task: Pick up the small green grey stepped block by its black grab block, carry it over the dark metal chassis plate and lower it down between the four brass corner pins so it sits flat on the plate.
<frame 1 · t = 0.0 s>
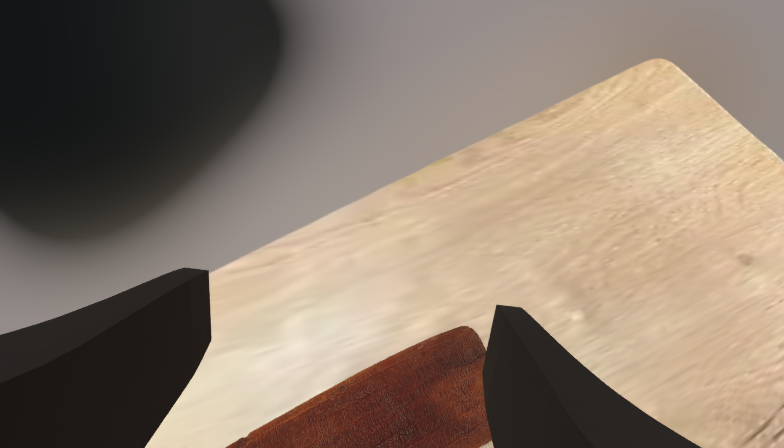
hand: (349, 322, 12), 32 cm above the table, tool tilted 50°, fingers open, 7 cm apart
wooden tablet: (362, 436, 41), on the table
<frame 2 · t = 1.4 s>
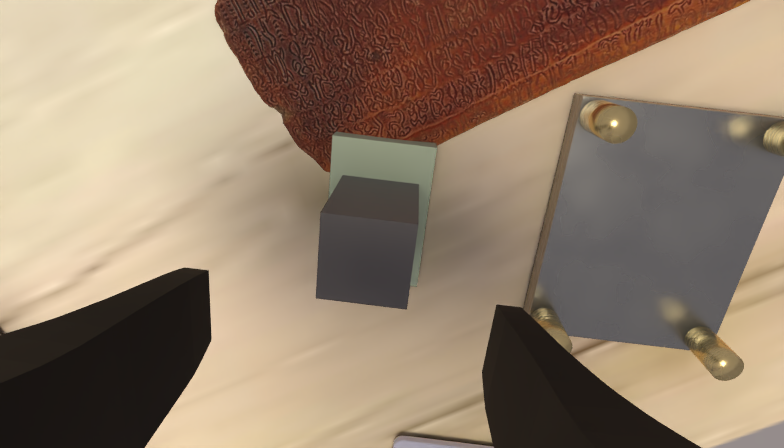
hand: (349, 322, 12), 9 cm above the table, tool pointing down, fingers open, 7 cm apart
chassis: (641, 227, 20), on the table
green grey stepped block: (379, 205, 20), on the table
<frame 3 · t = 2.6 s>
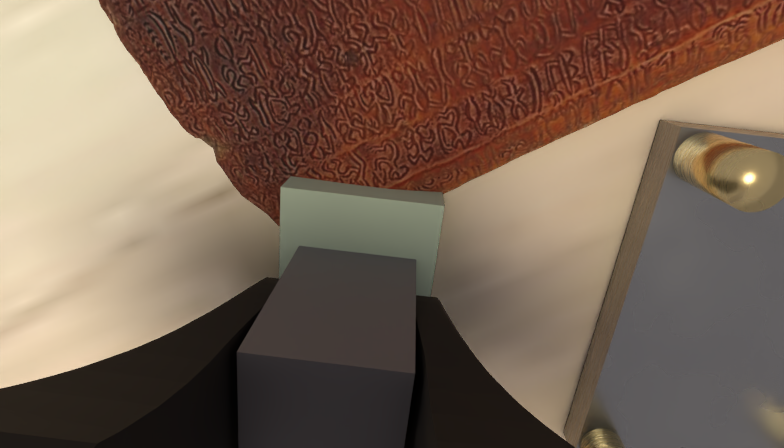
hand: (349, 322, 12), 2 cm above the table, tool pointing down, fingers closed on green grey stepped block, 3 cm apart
chassis: (746, 314, 13), on the table
green grey stepped block: (358, 282, 14), on the table, touching gripper
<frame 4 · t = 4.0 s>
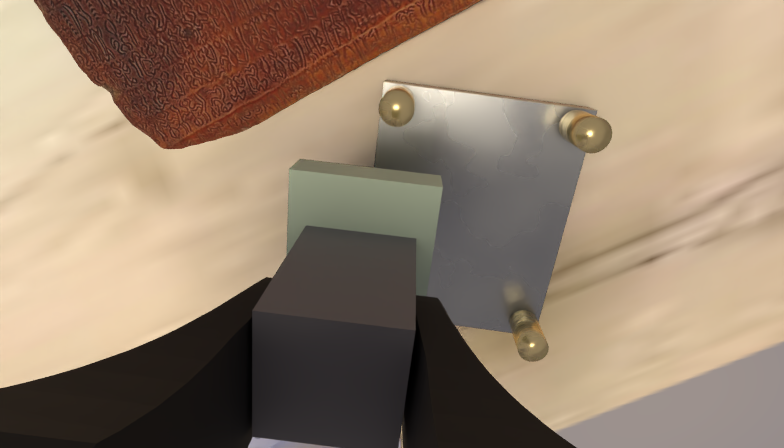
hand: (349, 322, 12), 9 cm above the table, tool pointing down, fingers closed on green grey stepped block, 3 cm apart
chassis: (463, 212, 20), on the table
green grey stepped block: (361, 262, 14), point 6 cm above the table, touching gripper
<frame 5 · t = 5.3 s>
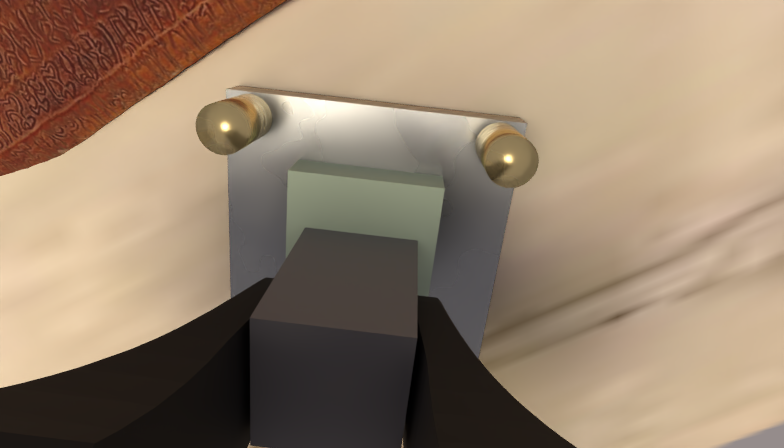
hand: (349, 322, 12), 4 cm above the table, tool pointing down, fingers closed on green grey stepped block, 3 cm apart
chassis: (364, 260, 15), on the table
green grey stepped block: (361, 264, 14), point 1 cm above the table, touching chassis, gripper
when the fingers open (4 cm above the table, at t = 5.6 s): green grey stepped block stays where it is, resting on chassis.
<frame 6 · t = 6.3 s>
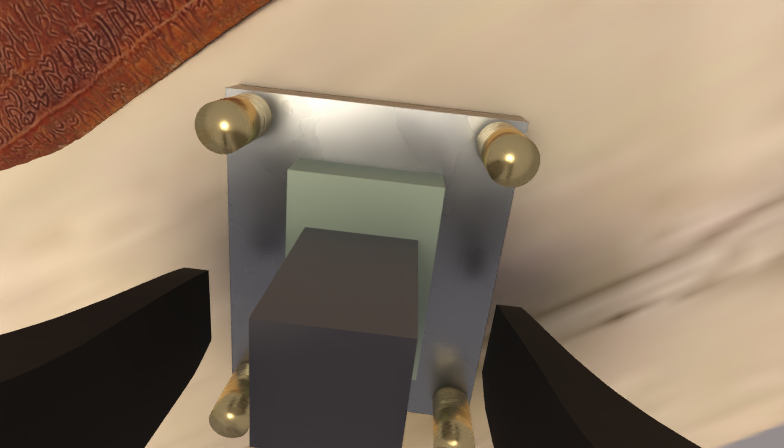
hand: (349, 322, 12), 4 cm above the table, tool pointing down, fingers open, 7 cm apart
chassis: (364, 259, 15), on the table
green grey stepped block: (361, 264, 14), point 1 cm above the table, touching chassis
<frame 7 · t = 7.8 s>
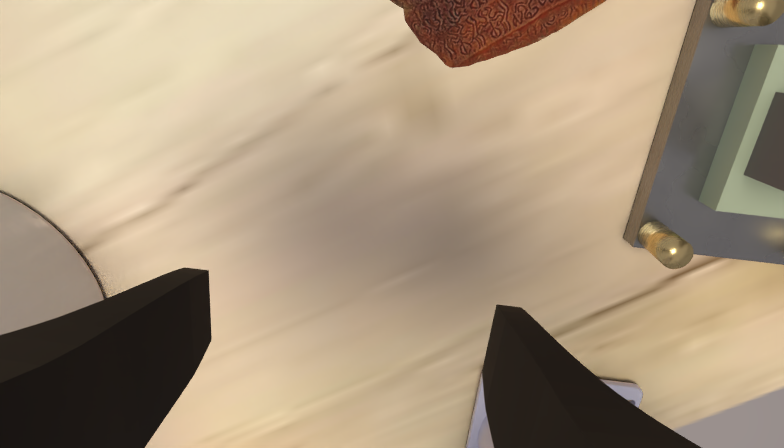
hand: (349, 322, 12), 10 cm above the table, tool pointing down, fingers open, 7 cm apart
chassis: (756, 136, 19), on the table
green grey stepped block: (777, 133, 18), point 1 cm above the table, touching chassis
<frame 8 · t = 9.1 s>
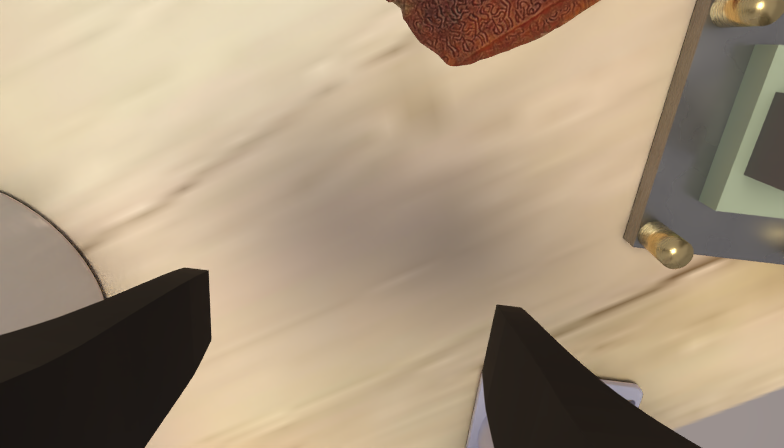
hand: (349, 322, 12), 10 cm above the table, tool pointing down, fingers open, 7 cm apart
chassis: (756, 136, 19), on the table
green grey stepped block: (777, 133, 18), point 1 cm above the table, touching chassis
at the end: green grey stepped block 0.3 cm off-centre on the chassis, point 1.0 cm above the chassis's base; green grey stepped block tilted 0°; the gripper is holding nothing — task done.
